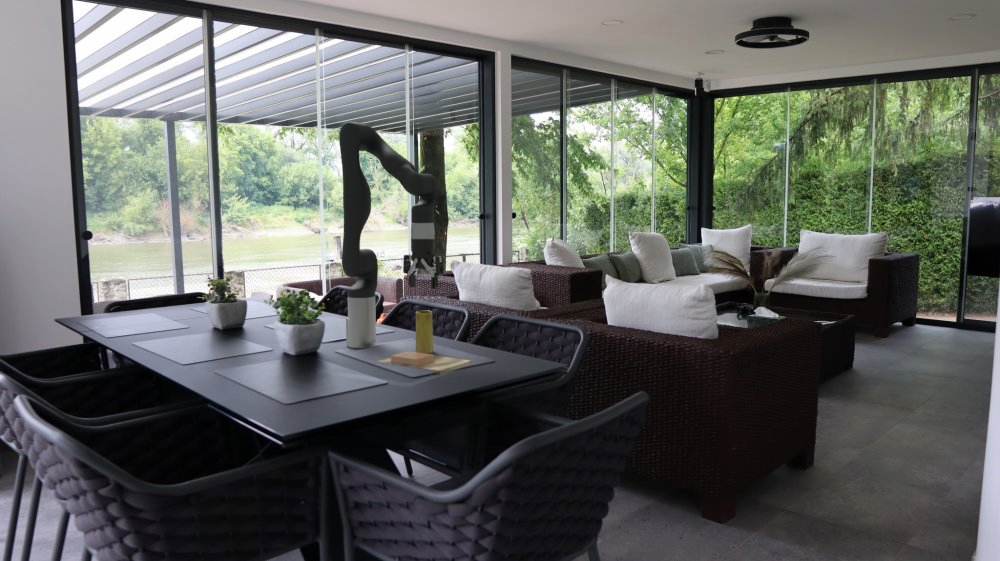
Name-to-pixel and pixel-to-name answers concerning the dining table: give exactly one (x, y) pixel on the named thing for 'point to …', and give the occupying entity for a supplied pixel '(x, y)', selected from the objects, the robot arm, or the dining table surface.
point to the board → (437, 364)
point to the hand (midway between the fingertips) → (423, 287)
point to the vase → (424, 332)
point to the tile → (412, 358)
